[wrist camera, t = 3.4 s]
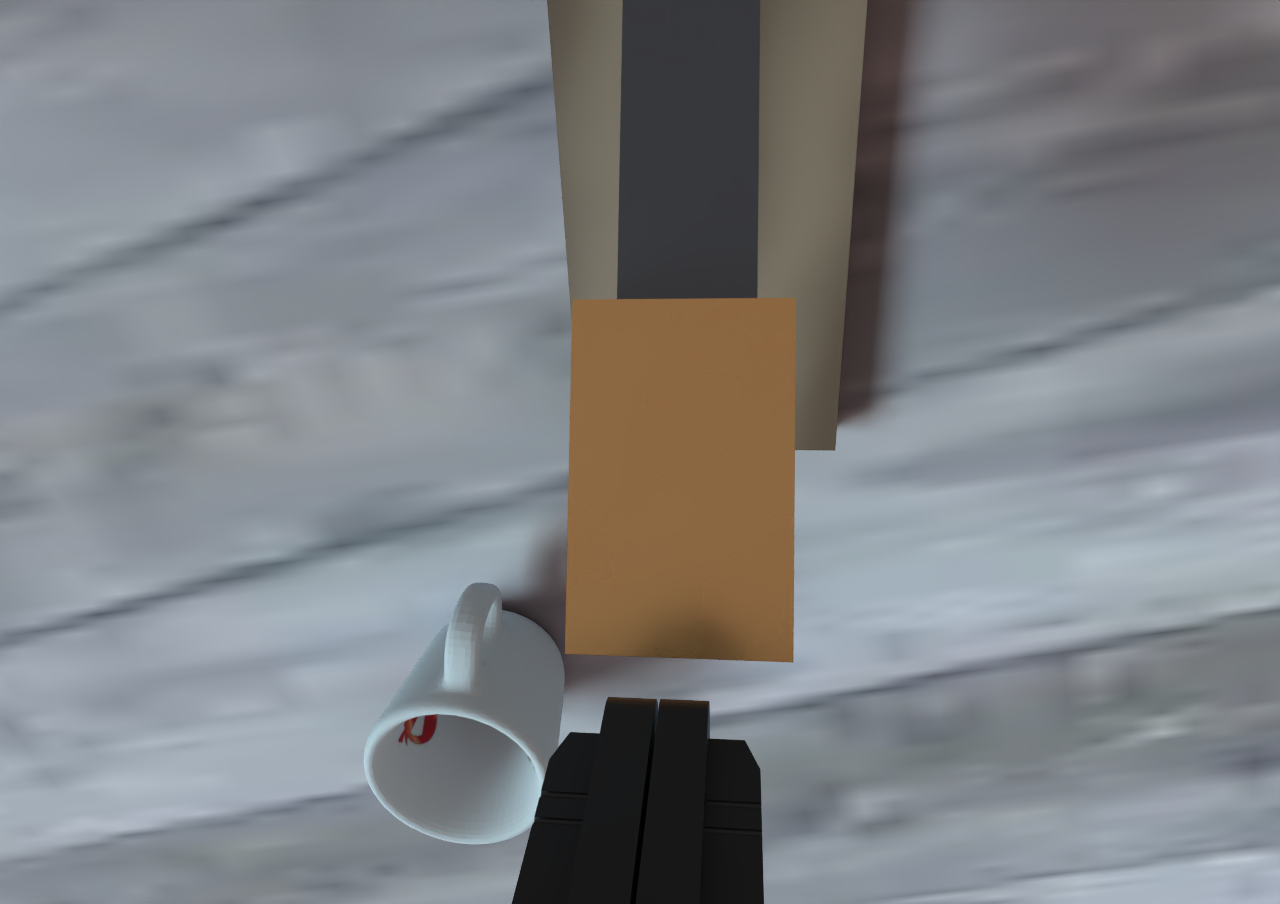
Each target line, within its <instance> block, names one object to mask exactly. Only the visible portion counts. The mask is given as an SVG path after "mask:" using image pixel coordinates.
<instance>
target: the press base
mask: <svg viewBox="0 0 1280 904" xmlns="http://www.w3.org/2000/svg"><path fill="white" fill-rule="evenodd" d="M547 4H548V17H549V30H550V43H551V56H552V69H553V82H554V95H555V108H556V121H557V134H558V147H559V160H560V173H561V186H562V199H563V212H564V226H565V239H566V252H567V265H568V278H569V291H570V304H571V317H572V305H573V300H581V299H617V270H618V217H619V165H620V112H621V59H622V6H623V0H547ZM866 14H867V0H760V81H759V185H758V289H757V298H796V342H795V450H835V445H836V431H837V417H838V403H839V389H840V375H841V361H842V347H843V334H844V320H845V306H846V292H847V278H848V264H849V250H850V236H851V222H852V209H853V195H854V181H855V167H856V153H857V139H858V125H859V111H860V98H861V84H862V70H863V56H864V42H865V28H866Z"/></svg>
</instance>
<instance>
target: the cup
mask: <svg viewBox="0 0 1280 904" xmlns="http://www.w3.org/2000/svg"><path fill="white" fill-rule="evenodd" d="M564 685H565V673H564V665H563V660H562V657H561V654H560V652H559V649H558V648H557V646H556V644H555V642H554V641H553V639H552V638H551V637H550V635H549V634H548V633H547V632H546V631H545V630H544V629H543V628H541V627H540V626H539V625H537V624H536V623H535V622H533V621H532V620H530V619H528V618H526V617H524V616H521V615H519V614H516V613H513V612H509V611H505V610H502V599H501V593H500V590H499V589H498V587H496V586H495V585H493V584H488V583H474V584H471V585H470V586H468V587H467V588H466V590H465V591H464V592H463V593H462V595H461V596H460V598H459V600H458V602H457V604H456V606H455V608H454V611H453V613H452V616H451V619H450V622H449V624H447V625H446V626H445V627H444V628H443V629H442V630H441V631H440V632H439V633H438V634H437V635H436V637H435V638H434V639H433V641H432V642H431V643H430V645H429V646H428V647H427V649H426V650H425V652H424V653H423V655H422V656H421V658H420V659H419V661H418V662H417V664H416V665H415V667H414V668H413V670H412V671H411V673H410V674H409V676H408V677H407V679H406V680H405V681H404V683H403V684H402V686H401V687H400V689H399V690H398V692H397V693H396V695H395V696H394V698H393V699H392V701H391V702H390V704H389V705H388V707H387V708H386V710H385V711H384V713H383V714H382V715H381V717H380V718H379V720H378V721H377V723H376V724H375V726H374V727H373V729H372V731H371V733H370V735H369V737H368V739H367V742H366V746H365V750H364V768H365V773H366V777H367V780H368V782H369V785H370V787H371V789H372V791H373V792H374V794H375V795H376V797H377V798H378V800H379V801H380V802H381V803H382V804H383V806H384V807H385V808H386V809H387V810H388V811H390V812H391V813H392V814H393V815H394V816H395V817H397V818H398V819H399V820H401V821H402V822H404V823H405V824H407V825H408V826H410V827H412V828H414V829H416V830H418V831H420V832H422V833H424V834H427V835H429V836H432V837H435V838H438V839H441V840H445V841H450V842H455V843H462V844H488V843H495V842H499V841H504V840H507V839H510V838H512V837H515V836H517V835H520V834H521V833H523V832H525V831H526V830H528V829H529V828H530V827H532V824H533V823H534V816H535V812H536V808H537V804H538V800H539V797H541V789H542V785H543V781H544V777H545V773H546V770H547V766H548V762H549V759H550V757H551V756H552V755H553V754H554V752H555V751H556V750H557V748H558V741H559V732H560V723H561V714H562V706H563V697H564Z"/></svg>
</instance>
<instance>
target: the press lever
mask: <svg viewBox="0 0 1280 904" xmlns="http://www.w3.org/2000/svg"><path fill="white" fill-rule="evenodd" d="M759 81H760V0H623V6H622V59H621V112H620V165H619V217H618V270H617V299H581V300H573V305H572V351H571V397H570V442H569V488H568V534H567V579H566V625H565V654H582V655H609V656H636V657H663V658H690V659H717V660H744V661H771V662H793V626H794V484H795V342H796V298H757V289H758V185H759Z"/></svg>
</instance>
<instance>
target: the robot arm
mask: <svg viewBox="0 0 1280 904" xmlns="http://www.w3.org/2000/svg"><path fill="white" fill-rule="evenodd" d="M512 904H764V891H763V853H762V815H761V777H760V768H759V766H758V764H757V763H756V761H755V759H754V757H753V755H752V753H751V751H750V749H749V747H748V746H747V744H746V742H745V740H726V739H710V706H709V701H693V700H670V699H661V700H660V703H659V710H658V702H657V699H641V698H619V697H608V699H607V701H606V705H605V710H604V715H603V720H602V725H601V730H600V734H597V733H577V732H570V733H569V735H568V736H567V737H566V738H565V740H564V741H563V742H562V743H561V745H560V746H559V747H558V748H557V750H556V751H555V752H554V754H553V755H552V756H551V757H550V759H549V762H548V766H547V770H546V773H545V777H544V781H543V785H542V789H541V797H539V800H538V804H537V808H536V812H535V816H534V823H533V824H532V828H531V831H530V835H529V839H528V843H527V847H526V851H525V855H524V859H523V862H522V866H521V870H520V874H519V878H518V882H517V886H516V889H515V893H514V897H513V901H512Z"/></svg>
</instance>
